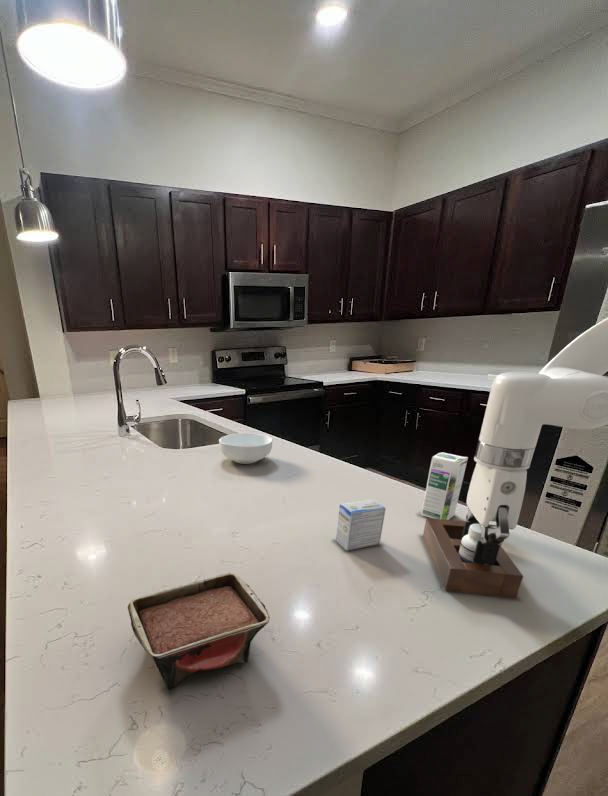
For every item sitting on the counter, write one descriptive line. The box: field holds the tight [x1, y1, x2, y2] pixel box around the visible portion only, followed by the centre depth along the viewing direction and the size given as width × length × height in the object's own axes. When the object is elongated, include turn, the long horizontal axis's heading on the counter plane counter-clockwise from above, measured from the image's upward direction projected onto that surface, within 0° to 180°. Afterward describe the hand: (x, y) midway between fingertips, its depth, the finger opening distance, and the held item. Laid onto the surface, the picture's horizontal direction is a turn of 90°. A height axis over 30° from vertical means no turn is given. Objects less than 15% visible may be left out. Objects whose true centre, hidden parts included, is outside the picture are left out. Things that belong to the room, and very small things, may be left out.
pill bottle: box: [458, 524, 496, 565], centre depth 73 cm, size 5×5×10 cm
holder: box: [422, 517, 524, 600], centre depth 78 cm, size 11×19×4 cm, turn 167°
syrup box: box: [420, 451, 469, 520], centre depth 95 cm, size 6×6×14 cm
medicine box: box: [335, 498, 387, 551], centre depth 85 cm, size 8×4×9 cm, turn 108°
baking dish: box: [127, 572, 270, 691], centre depth 58 cm, size 14×18×10 cm
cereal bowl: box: [218, 432, 273, 465], centre depth 134 cm, size 17×17×7 cm
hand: (476, 551), depth 73 cm, fingers open, 6 cm apart
